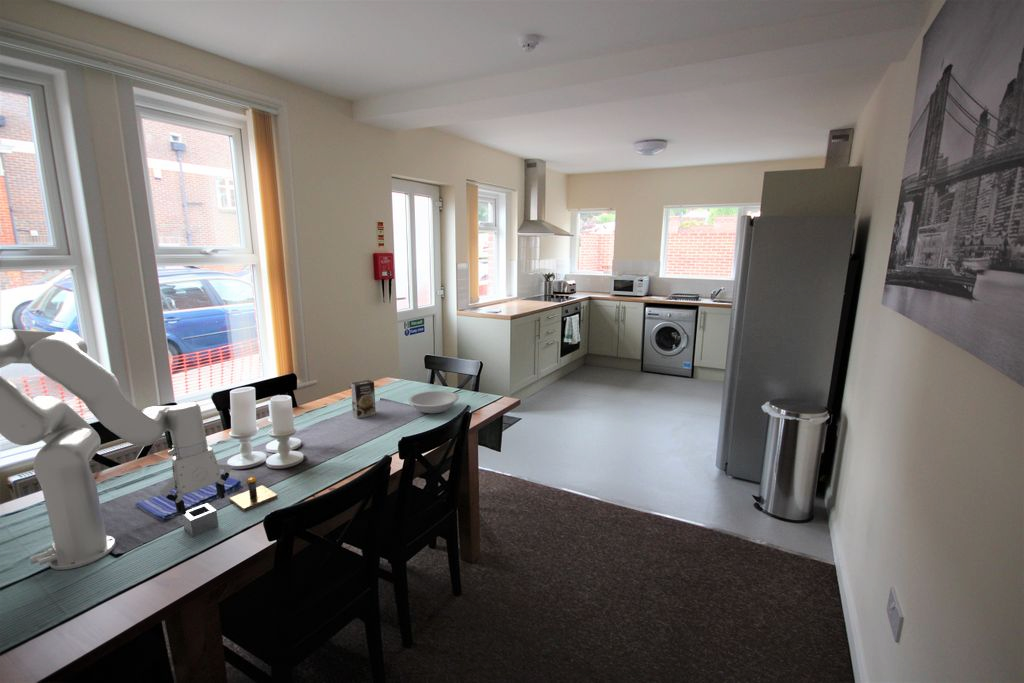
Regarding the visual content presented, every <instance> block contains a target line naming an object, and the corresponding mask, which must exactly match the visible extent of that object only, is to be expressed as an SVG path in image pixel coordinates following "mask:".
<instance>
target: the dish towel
mask: <svg viewBox="0 0 1024 683" xmlns="http://www.w3.org/2000/svg"><path fill="white" fill-rule="evenodd" d="M220 474H221V475H222V474H223V473H220ZM216 483H217V482H216ZM216 483H214V484H211V485H209V486H206V487H204V488H201V489H199V490H196V491H193V492H191V493H188V494H184V496H183V498H182V500H183V501H184V505H185V510H186V511H187V510H190V509H193V508H195V507H198V506H201V505H203V504H206V503H209V502H211V501H214V500H216V499H218V498H220V497H219V496H218V495H217V490H216ZM241 483H242V481H241V480H239V479H234V478H231V477H230V476H229V477H228V478H227V480H226V481H225V484H224V487H225V492H226V493H225V494H224V496H226V495H228V494H230V493H233V492H235V491H237V490H239V489H241V488H242V486H241ZM175 492H176V488H175V487H174V488H172V489H170V490H169V493H170V494H173V495H174V493H175ZM135 506H136V507H137V508H138V509H140V510H142V511H143V512H145V513H147V515H150V516H152V517H154V518H155V519H157V520H159V521H163V522H164V521H165V520H169V519H172V518H174V517H176V516H178V515H182V514H181V513H180V512H177V510H176V505H175V502H174V501H171V500H168V499H167V498H166V497H165V496H163V495H162V494H161V493H160V494H158V495H156V496H153V497H151V498H147V499H145V500H141V501H139V502H136V503H135Z"/></svg>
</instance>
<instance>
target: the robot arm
mask: <svg viewBox="0 0 1024 683" xmlns="http://www.w3.org/2000/svg"><path fill="white" fill-rule="evenodd" d="M11 364H22V365H23V364H27V365H28V364H29V365H31V366H32V367H33V368H34V369H35V370H37V372H38V371H39V372H40V373H42V374H43V375H45V376H46V377H47V378H49V379H50V380H51V381H53V382H54V383H57V384H58V385H59V386H61V387H62V388H64V389H65V390H67V392H68V391H69V393H70V394H72V395H73V396H76V398H78V399H79V400H81V401H82V402H83V403H84V404H85V406H86V407H87V409H88V410H89V411H90V412H91V413H92V415H93V416H94V418H96V419H97V421H98V422H100V423H101V425H102V426H103V427H104V428H106V429H108V431H110V432H111V433H113V434H115V435H116V436H117V437H118V438H120V439H121V440H123V441H125V442H127V443H129V444H131V445H133V446H137V447H147V446H151V445H153V444H155V443H157V442H158V441H159V440H160V439H161V438H162V436H163V435H164V433H165V432H170V438H171V441H172V442H171V444H172V443H173V446H172V447H173V448H172V450H171V449H170V450H168V451H167V455H168V457H171V456H172V463H171V464H172V468H171V469H172V479H171V480H170V481H169V482H168V483H167V484H166V485H164V486H163V487H162V488H160V489H159V494H160V495H161V494H162V495H163V496H165V497H166V498H167V499H168V500H171V501H174V502H175V505H176V510H177V512H180V513H181V514H180V515H182V514H183V515H185V514H186V510H185V505H184V501H183V500H182V498H183V496H184V494H188V493H191V492H193V491H196V490H199V489H201V488H204V487H206V486H209V485H211V484H214V483H216V482H217V483H216V490H217V495H218V496H219V498H220V499H225V498H226V497H225V496H226V495H224V494H225V493H226V492H225V487H224V484H225V481H226V480H227V478H228V477H230V472H231V470H232V468H233V467H232V465H230V464H224V463H218V460H217V456H216V454H215V452H214V449H213V448H212V447H211V446H209V445H208V440H207V436H206V431H205V426H204V420H203V415H202V414H203V413H202V411H201V407H200V405H199V404H198V403H196V402H182V403H179V404H176V405H175V404H174V405H155V406H148V407H144V408H143V409H141V410H140V409H139V408H137V407H136V406H135V405H133V403H132V402H130V401H129V400H128V398H127V397H126V396H125V395H124V393H123V391H122V388H121V385H120V381H119V380H118V377H117V375H115V374H114V373H113V372H112V371H110V370H109V369H107V367H105V366H103V365H101V364H100V363H99V362H98V361H96V360H95V359H93V357H90V356H89V355H88V345H87V344H86V341H84V339H83V338H82V337H80V336H78V335H77V334H74V333H71V332H65V331H48V330H46V331H43V330H31V329H30V330H28V329H25V330H24V329H13V328H12V329H11V328H8V329H7V328H5V329H3V328H2V329H0V369H1V368H4V367H6V366H9V365H11ZM0 435H1V436H2V437H3V438H5V439H6V440H7V441H9V442H10V443H13V444H15V445H16V446H17V445H19V446H29V445H33V444H36V443H39V442H40V441H43V443H44V445H43V446H42V447H41V448H40V449H39V451H37V453H36V455H35V458H34V460H33V471H34V475H35V477H36V479H37V480H38V483H39V485H40V487H41V491H42V494H43V498H44V503H45V506H46V511H47V515H48V519H49V520H48V521H49V524H50V530H51V533H52V539H53V543H51V547H50V548H49V549H46V551H44V552H41V553H37V554H35V555H32V556H29V562H30V565H34V564H37V563H39V566H42V565H45V564H47V563H49V567H50V568H51V569H53V570H56V571H57V570H58V571H59V570H60V571H63V570H64V571H65V570H72V569H77V568H81V567H83V566H86V565H89V564H92V563H94V562H95V561H98V560H100V559H101V558H104V557H105V556H106V555H108V554H110V553H111V551H113V549H115V547H116V545H117V544H116V542H117V541H116V539H115V538H114V536H111V535H106V534H107V533H106V532H107V531H106V527H105V522H104V518H103V513H102V512H103V511H102V508H101V502H100V496H99V492H98V488H97V487H98V486H97V483H96V479H95V477H94V474H93V471H92V470H91V467H90V462H91V460H92V459H93V457H94V456H95V455H96V454H97V452H98V451H99V450H100V446H101V437H100V435H99V433H98V432H97V431H96V429H94V427H93V426H91V425H90V424H89V422H87V421H86V420H85V419H84V418H83V417H82V416H80V415H79V413H77V412H76V411H75V410H74V409H73V408H72V407H71V406H70V405H68V404H67V403H66V402H64V401H62V400H61V399H59V398H58V397H57V398H56V397H54V396H50V395H36V396H31V397H30V396H29V395H28V394H26V393H25V392H24V391H23V390H22V389H21V388H20V387H19V386H18V385H16V384H15V383H14V382H12V381H10V380H9V379H7V378H5V377H3V376H1V375H0ZM173 455H174V457H173ZM221 470H223V472H222V473H221ZM221 474H222V475H221ZM175 488H176V492H175V493H174V495H173V494H170V493H169V491H171V490H173V489H175Z"/></svg>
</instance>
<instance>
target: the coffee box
mask: <svg viewBox="0 0 1024 683" xmlns="http://www.w3.org/2000/svg"><path fill="white" fill-rule="evenodd" d="M350 389H351V406H352V407H351V408H352V415H353V417H354V418H356V419H358V418H359V419H361V418H363V419H364V418H367V417H371V416H376V415H377V412H376V392H375V382H374V381H372V380H369V379H367V380H360V381H355V382H351V383H350ZM375 414H376V415H375Z"/></svg>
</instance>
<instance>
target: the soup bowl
mask: <svg viewBox="0 0 1024 683" xmlns="http://www.w3.org/2000/svg"><path fill="white" fill-rule="evenodd" d="M459 399H460V398H459V394H457V393H455V392H453V391H448V390H447V391H446V390H427V391H421V392H418V393H414V394H412V395H411V396H409V397H408V398H407V401H408V403H409V404H411V405H412V406H413V407H414V408H415V410H417V411H419V412H422V413H425V414H438V413H443V412H446V411H448V410H450V408H451V407H453V405H454V404H455V403H456V402H457V401H458V400H459Z"/></svg>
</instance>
